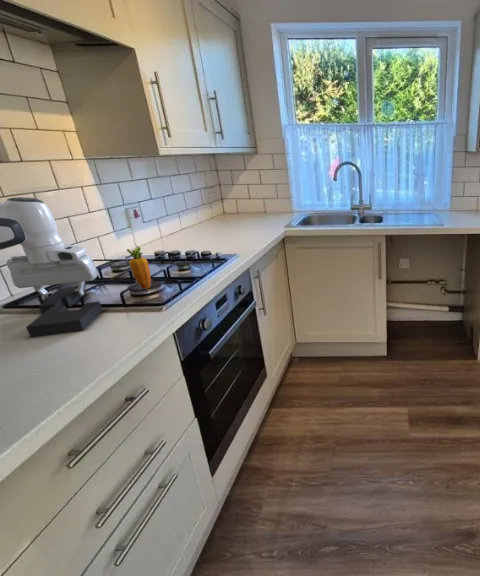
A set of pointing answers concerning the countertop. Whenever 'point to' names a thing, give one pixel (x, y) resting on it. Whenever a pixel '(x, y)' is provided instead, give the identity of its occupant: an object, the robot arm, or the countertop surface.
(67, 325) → the notch pad
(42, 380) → the countertop surface
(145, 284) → the carrot
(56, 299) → the pad
